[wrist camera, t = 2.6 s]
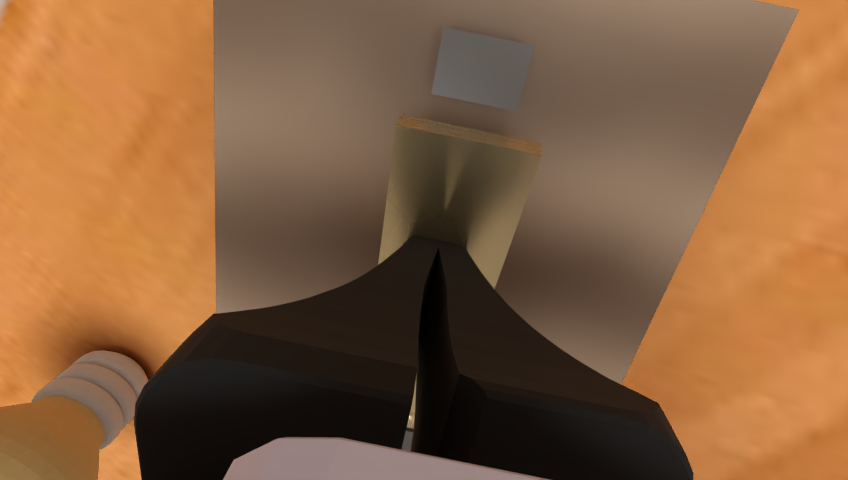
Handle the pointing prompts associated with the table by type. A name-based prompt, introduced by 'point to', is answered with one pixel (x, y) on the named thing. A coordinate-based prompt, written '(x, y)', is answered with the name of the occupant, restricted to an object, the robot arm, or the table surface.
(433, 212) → the hasp
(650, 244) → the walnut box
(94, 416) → the light bulb
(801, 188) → the table surface
